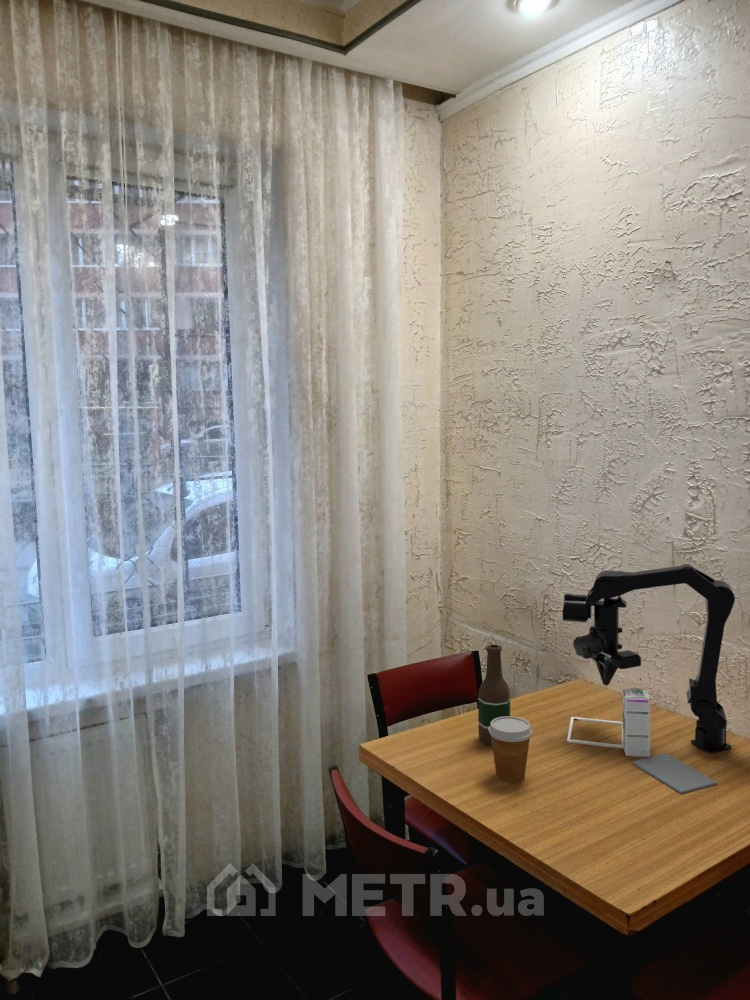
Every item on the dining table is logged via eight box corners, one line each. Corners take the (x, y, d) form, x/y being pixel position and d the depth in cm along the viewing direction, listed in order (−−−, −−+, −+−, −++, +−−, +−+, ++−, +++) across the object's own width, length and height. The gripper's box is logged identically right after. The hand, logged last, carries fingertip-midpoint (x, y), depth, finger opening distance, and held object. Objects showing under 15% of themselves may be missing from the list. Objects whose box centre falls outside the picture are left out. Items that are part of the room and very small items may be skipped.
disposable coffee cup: (484, 782, 164) (484, 730, 163) (493, 763, 173) (493, 713, 172) (528, 789, 161) (528, 735, 160) (535, 769, 170) (535, 718, 169)
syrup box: (650, 757, 174) (651, 697, 172) (624, 756, 175) (624, 696, 173) (647, 747, 180) (648, 688, 178) (621, 745, 181) (622, 687, 179)
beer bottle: (512, 747, 181) (512, 650, 178) (480, 747, 181) (479, 651, 178) (507, 733, 189) (507, 640, 186) (476, 734, 189) (476, 641, 186)
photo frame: (645, 748, 178) (567, 739, 183) (645, 752, 178) (567, 743, 183) (644, 723, 191) (571, 716, 197) (644, 727, 191) (571, 720, 197)
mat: (666, 755, 175) (666, 753, 175) (717, 784, 161) (717, 782, 161) (631, 763, 171) (631, 761, 171) (680, 794, 158) (680, 791, 157)
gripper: (555, 618, 190) (556, 678, 191) (604, 638, 172) (604, 703, 174) (592, 612, 194) (591, 671, 196) (643, 631, 177) (642, 695, 178)
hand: (605, 684), depth 186 cm, fingers closed
